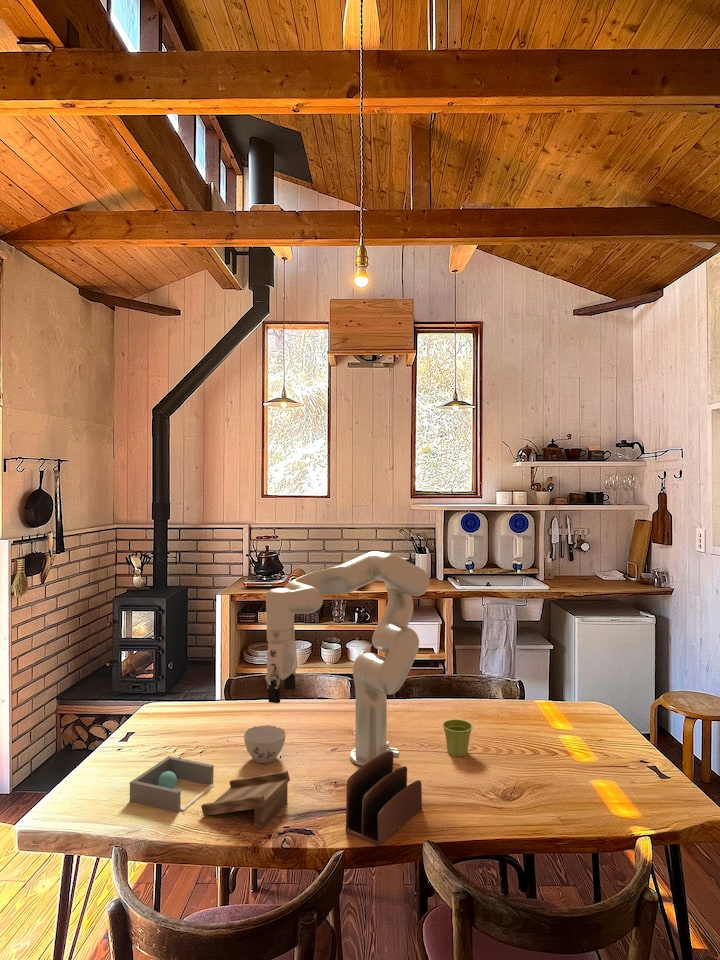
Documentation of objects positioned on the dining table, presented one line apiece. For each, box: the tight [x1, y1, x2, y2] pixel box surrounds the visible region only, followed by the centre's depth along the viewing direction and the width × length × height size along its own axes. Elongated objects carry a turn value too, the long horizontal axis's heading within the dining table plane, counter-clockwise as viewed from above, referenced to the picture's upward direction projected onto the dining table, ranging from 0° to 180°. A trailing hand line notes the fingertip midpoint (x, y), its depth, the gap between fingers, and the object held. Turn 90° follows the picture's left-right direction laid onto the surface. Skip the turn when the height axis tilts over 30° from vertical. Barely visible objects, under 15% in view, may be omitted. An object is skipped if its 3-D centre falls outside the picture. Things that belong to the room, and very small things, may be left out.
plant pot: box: [442, 718, 474, 758], centre depth 189 cm, size 9×9×9 cm
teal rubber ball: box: [157, 771, 178, 789], centre depth 165 cm, size 5×5×5 cm
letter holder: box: [345, 751, 423, 847], centre depth 152 cm, size 10×20×14 cm, turn 144°
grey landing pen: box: [129, 756, 215, 813], centre depth 164 cm, size 16×16×5 cm
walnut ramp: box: [200, 770, 291, 829], centre depth 157 cm, size 18×14×8 cm
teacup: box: [243, 724, 287, 764], centre depth 185 cm, size 15×12×8 cm
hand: (282, 695), depth 168 cm, fingers open, 9 cm apart
